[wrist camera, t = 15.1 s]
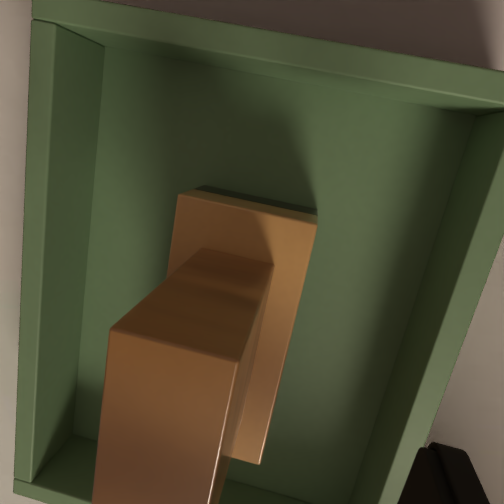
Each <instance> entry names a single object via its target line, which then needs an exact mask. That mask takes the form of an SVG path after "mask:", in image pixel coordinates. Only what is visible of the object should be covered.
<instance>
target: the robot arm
mask: <svg viewBox="0 0 504 504" xmlns="http://www.w3.org/2000/svg"><path fill="white" fill-rule="evenodd" d="M397 504H490V503H489V501H488V499H487V496H486V494H485V492H484V490H483V487H482V485H481V483H480V481H479V479H478V476H477V474H476V472H475V470H474V467H473V465H472V463H471V461H470V459H469V456H468V455H467V453H466V452H465V451H464V450H461V449H458V448H454V447H450V446H447V445H443V444H439V443H436V442H432V443H431V444H430V445H429V446H428V448H424V447H420V448H419V449H418V451H417V454H416V456H415V459H414V461H413V464H412V467H411V469H410V472H409V474H408V477H407V480H406V482H405V485H404V488H403V490H402V493H401V495H400V498H399V501H398V503H397Z"/></svg>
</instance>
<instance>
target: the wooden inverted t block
mask: <svg viewBox="0 0 504 504" xmlns="http://www.w3.org/2000/svg"><path fill="white" fill-rule="evenodd" d="M317 227H318V210H317V209H314V208H309V207H305V206H300V205H295V204H291V203H286V202H281V201H277V200H272V199H267V198H263V197H258V196H253V195H249V194H244V193H239V192H235V191H230V190H225V189H221V188H216V187H211V186H207V185H203V186H200V187H197V188H194V189H192V190H189V191H186V192H183V193H180V194H179V195H178V198H177V205H176V212H175V219H174V226H173V233H172V241H171V248H170V255H169V262H168V269H167V276H166V279H165V280H164V281H163V282H162V283H161V284H159V285H158V286H157V287H156V288H155V289H154V290H153V291H151V292H150V293H149V294H148V295H147V296H146V297H145V298H143V299H142V300H141V301H140V302H139V303H138V304H137V305H135V306H134V307H133V308H132V309H131V310H130V311H129V312H127V313H126V314H125V315H124V316H123V317H122V318H121V319H119V320H118V321H117V322H116V323H115V324H114V325H113V326H112V327H111V328H110V329H109V337H108V347H107V357H106V367H105V376H104V386H103V396H102V406H101V415H100V425H99V435H98V445H97V454H96V464H95V474H94V484H93V493H92V503H91V504H218V503H219V499H220V496H221V492H222V489H223V485H224V482H225V478H226V474H227V471H228V467H229V464H230V460H231V457H232V458H236V459H239V460H243V461H246V462H250V463H254V464H257V465H260V463H261V460H262V456H263V452H264V448H265V443H266V439H267V435H268V431H269V427H270V423H271V419H272V414H273V410H274V406H275V402H276V398H277V394H278V389H279V385H280V381H281V377H282V373H283V369H284V364H285V360H286V356H287V352H288V348H289V344H290V339H291V335H292V331H293V327H294V323H295V319H296V315H297V310H298V306H299V302H300V298H301V294H302V290H303V285H304V281H305V277H306V273H307V269H308V265H309V260H310V256H311V252H312V248H313V244H314V240H315V236H316V231H317Z"/></svg>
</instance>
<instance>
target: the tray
mask: <svg viewBox="0 0 504 504" xmlns="http://www.w3.org/2000/svg"><path fill="white" fill-rule="evenodd" d="M32 18H33V19H34V20H32V21H31V41H30V68H29V94H28V120H27V146H26V172H25V198H24V224H23V251H22V277H21V303H20V329H19V355H18V381H17V407H16V434H15V460H14V477H15V478H14V485H13V492H14V493H15V494H18V495H22V496H25V497H28V498H31V499H35V500H38V501H41V502H44V503H47V504H91V503H92V493H93V484H94V474H95V464H96V454H97V445H98V435H99V425H100V415H101V406H102V396H103V386H104V376H105V367H106V357H107V347H108V337H109V329H110V328H111V327H112V326H113V325H114V324H115V323H116V322H117V321H118V320H119V319H121V318H122V317H123V316H124V315H125V314H126V313H127V312H129V311H130V310H131V309H132V308H133V307H134V306H135V305H137V304H138V303H139V302H140V301H141V300H142V299H143V298H145V297H146V296H147V295H148V294H149V293H150V292H151V291H153V290H154V289H155V288H156V287H157V286H158V285H159V284H161V283H162V282H163V281H164V280H165V279H166V276H167V269H168V262H169V255H170V248H171V241H172V233H173V226H174V219H175V212H176V205H177V198H178V195H179V194H180V193H183V192H186V191H189V190H192V189H194V188H197V187H200V186H203V185H207V186H211V187H216V188H221V189H225V190H230V191H235V192H239V193H244V194H249V195H253V196H258V197H263V198H267V199H272V200H277V201H281V202H286V203H291V204H295V205H300V206H305V207H309V208H314V209H317V210H318V227H317V231H316V236H315V240H314V244H313V248H312V252H311V256H310V260H309V265H308V269H307V273H306V277H305V281H304V285H303V290H302V294H301V298H300V302H299V306H298V310H297V315H296V319H295V323H294V327H293V331H292V335H291V339H290V344H289V348H288V352H287V356H286V360H285V364H284V369H283V373H282V377H281V381H280V385H279V389H278V394H277V398H276V402H275V406H274V410H273V414H272V419H271V423H270V427H269V431H268V435H267V439H266V443H265V448H264V452H263V456H262V460H261V463H260V465H257V464H254V463H250V462H246V461H243V460H239V459H236V458H232V457H231V460H230V464H229V467H228V471H227V474H226V478H225V482H224V485H223V489H222V492H221V496H220V499H219V503H218V504H397V503H398V501H399V498H400V495H401V493H402V490H403V488H404V485H405V482H406V480H407V477H408V474H409V472H410V469H411V467H412V464H413V461H414V459H415V456H416V454H417V451H418V449H419V448H420V447H424V445H425V443H426V440H427V437H428V435H429V432H430V429H431V427H432V424H433V421H434V419H435V416H436V413H437V411H438V408H439V405H440V403H441V400H442V397H443V395H444V392H445V389H446V387H447V384H448V381H449V379H450V376H451V373H452V371H453V368H454V365H455V363H456V360H457V357H458V355H459V352H460V349H461V347H462V344H463V341H464V339H465V336H466V333H467V331H468V328H469V325H470V323H471V320H472V317H473V315H474V312H475V309H476V307H477V304H478V301H479V299H480V296H481V293H482V291H483V288H484V285H485V283H486V280H487V277H488V275H489V272H490V269H491V267H492V264H493V261H494V259H495V256H496V254H497V251H498V248H499V246H500V243H501V240H502V238H503V235H504V71H500V70H494V69H488V68H483V67H477V66H471V65H466V64H460V63H454V62H449V61H443V60H437V59H432V58H426V57H420V56H414V55H409V54H403V53H397V52H392V51H386V50H380V49H375V48H369V47H363V46H358V45H352V44H346V43H340V42H335V41H329V40H323V39H318V38H312V37H306V36H301V35H295V34H289V33H284V32H278V31H272V30H266V29H261V28H255V27H249V26H244V25H238V24H232V23H227V22H221V21H215V20H210V19H204V18H198V17H192V16H187V15H181V14H175V13H170V12H164V11H158V10H153V9H147V8H141V7H136V6H130V5H124V4H118V3H113V2H107V1H101V0H32Z"/></svg>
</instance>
